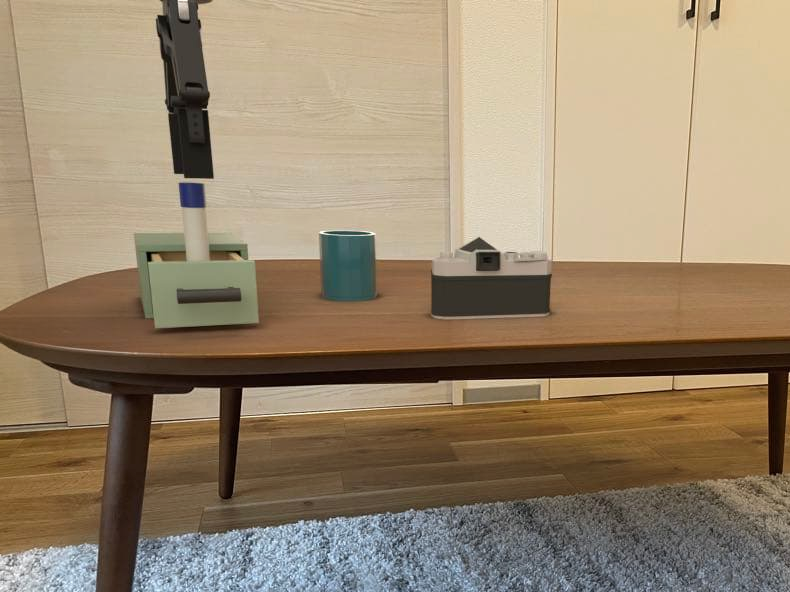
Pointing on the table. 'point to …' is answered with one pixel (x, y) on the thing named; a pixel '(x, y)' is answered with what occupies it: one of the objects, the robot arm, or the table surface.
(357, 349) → the table surface
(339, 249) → the pen cup
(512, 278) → the camera
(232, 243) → the cabinet
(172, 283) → the drawer
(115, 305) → the table surface
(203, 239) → the marker
